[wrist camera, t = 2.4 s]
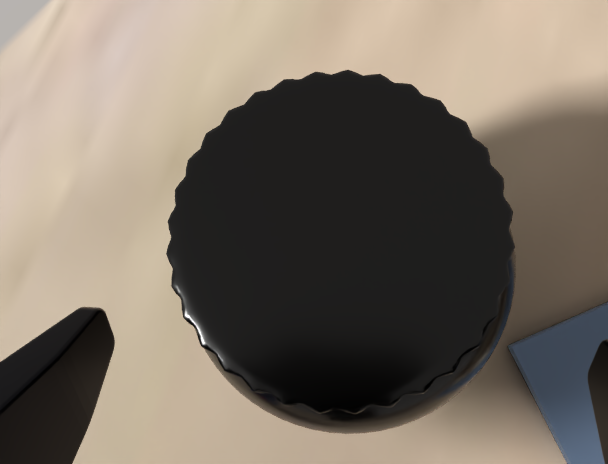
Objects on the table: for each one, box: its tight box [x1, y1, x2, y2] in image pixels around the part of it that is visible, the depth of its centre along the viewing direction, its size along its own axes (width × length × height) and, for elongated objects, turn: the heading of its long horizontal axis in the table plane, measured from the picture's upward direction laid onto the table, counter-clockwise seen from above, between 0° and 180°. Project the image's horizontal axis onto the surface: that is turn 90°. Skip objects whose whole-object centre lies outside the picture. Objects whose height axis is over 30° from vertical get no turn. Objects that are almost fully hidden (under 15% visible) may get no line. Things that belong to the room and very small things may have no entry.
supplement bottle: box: [166, 70, 515, 434], centre depth 13 cm, size 7×7×12 cm
